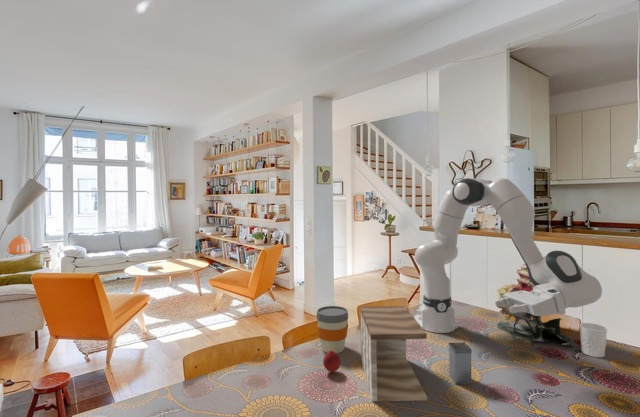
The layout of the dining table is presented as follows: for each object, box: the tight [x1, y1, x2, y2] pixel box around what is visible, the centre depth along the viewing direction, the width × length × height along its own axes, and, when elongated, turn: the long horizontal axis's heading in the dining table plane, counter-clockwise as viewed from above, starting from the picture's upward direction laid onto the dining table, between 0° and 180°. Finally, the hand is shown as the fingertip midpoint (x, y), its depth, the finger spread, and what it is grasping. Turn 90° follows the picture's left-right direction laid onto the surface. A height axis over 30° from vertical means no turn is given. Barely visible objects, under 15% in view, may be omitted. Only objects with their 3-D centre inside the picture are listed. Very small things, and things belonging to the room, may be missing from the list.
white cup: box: [579, 322, 608, 358], centre depth 127 cm, size 8×8×10 cm
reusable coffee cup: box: [316, 305, 349, 354], centre depth 135 cm, size 13×13×15 cm
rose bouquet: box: [496, 263, 576, 348], centre depth 148 cm, size 26×29×30 cm
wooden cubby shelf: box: [360, 305, 428, 402], centre depth 112 cm, size 26×16×20 cm, turn 0°
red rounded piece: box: [322, 349, 341, 374], centre depth 116 cm, size 6×6×8 cm
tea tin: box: [448, 342, 473, 385], centre depth 110 cm, size 5×5×11 cm
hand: (502, 307), depth 111 cm, fingers open, 8 cm apart
